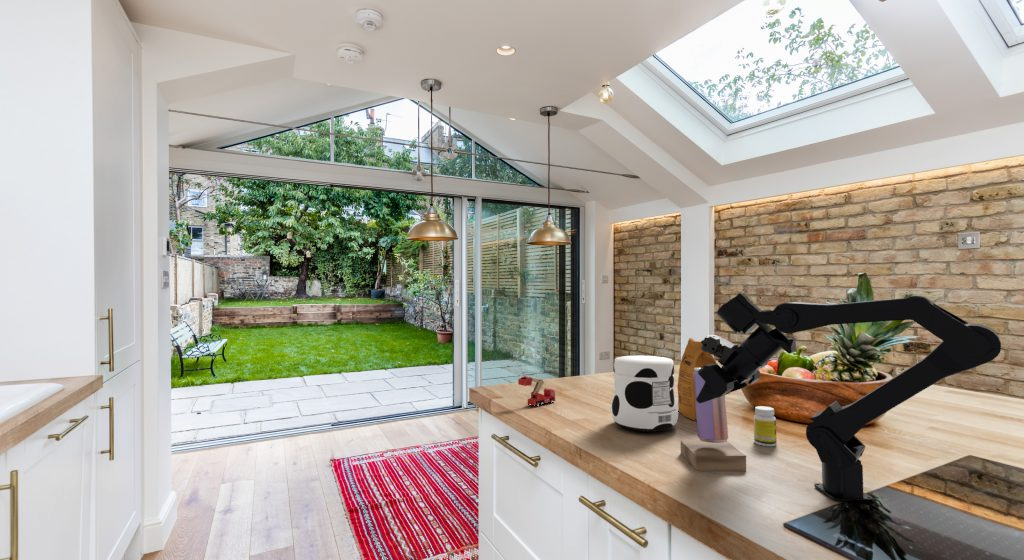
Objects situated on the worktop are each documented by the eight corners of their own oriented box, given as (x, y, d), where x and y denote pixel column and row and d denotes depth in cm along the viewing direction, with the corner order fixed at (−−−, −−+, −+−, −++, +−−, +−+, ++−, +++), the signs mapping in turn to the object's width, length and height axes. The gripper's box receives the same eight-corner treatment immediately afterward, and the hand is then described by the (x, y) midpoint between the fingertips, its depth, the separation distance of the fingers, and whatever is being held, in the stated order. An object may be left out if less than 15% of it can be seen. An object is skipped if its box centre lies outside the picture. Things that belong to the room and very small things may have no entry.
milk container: (623, 415, 141) (622, 353, 141) (684, 423, 132) (683, 357, 132) (602, 430, 126) (601, 361, 126) (670, 440, 117) (668, 366, 117)
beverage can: (699, 442, 100) (694, 369, 102) (696, 437, 105) (691, 367, 107) (730, 443, 98) (725, 368, 100) (725, 438, 104) (720, 367, 106)
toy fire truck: (556, 402, 157) (556, 373, 157) (525, 410, 148) (524, 378, 148) (549, 401, 159) (549, 371, 160) (518, 408, 151) (517, 377, 151)
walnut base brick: (746, 470, 97) (746, 455, 97) (696, 470, 98) (696, 455, 98) (726, 453, 107) (725, 440, 107) (680, 453, 108) (680, 440, 108)
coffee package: (705, 410, 146) (704, 337, 146) (725, 421, 133) (723, 341, 134) (673, 410, 145) (672, 337, 146) (689, 422, 133) (688, 342, 133)
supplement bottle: (779, 447, 111) (778, 411, 111) (757, 446, 112) (756, 410, 112) (772, 441, 116) (772, 405, 116) (751, 440, 117) (750, 405, 117)
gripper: (742, 319, 107) (696, 365, 115) (705, 324, 94) (656, 376, 102) (783, 357, 101) (731, 403, 109) (749, 368, 88) (694, 419, 96)
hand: (703, 399), depth 104 cm, fingers closed on beverage can, 5 cm apart
